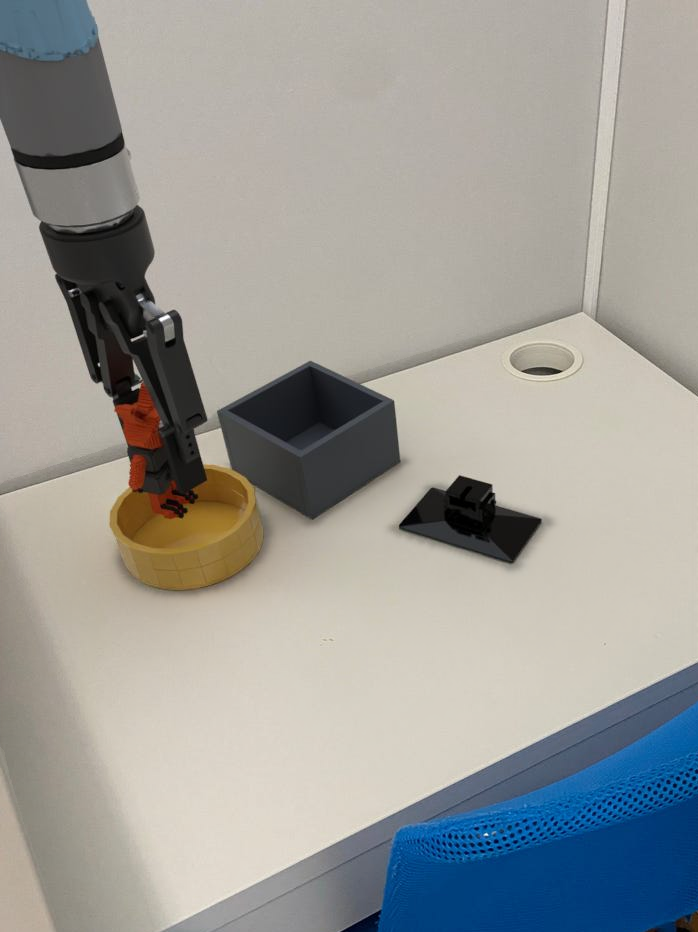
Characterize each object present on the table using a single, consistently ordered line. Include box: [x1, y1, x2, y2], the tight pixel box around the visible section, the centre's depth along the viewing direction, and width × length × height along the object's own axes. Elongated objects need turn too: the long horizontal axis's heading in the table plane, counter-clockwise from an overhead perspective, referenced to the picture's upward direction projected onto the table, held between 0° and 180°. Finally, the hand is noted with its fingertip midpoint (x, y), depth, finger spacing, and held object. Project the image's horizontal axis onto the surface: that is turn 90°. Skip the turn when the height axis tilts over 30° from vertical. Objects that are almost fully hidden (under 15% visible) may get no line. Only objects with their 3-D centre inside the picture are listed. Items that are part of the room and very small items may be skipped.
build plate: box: [398, 475, 543, 565], centre depth 90 cm, size 12×7×5 cm, turn 64°
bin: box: [216, 360, 401, 520], centre depth 97 cm, size 13×13×8 cm
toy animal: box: [113, 382, 198, 519], centre depth 83 cm, size 8×6×12 cm
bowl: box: [108, 464, 265, 591], centre depth 89 cm, size 13×13×4 cm
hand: (169, 470), depth 85 cm, fingers closed on toy animal, 6 cm apart
